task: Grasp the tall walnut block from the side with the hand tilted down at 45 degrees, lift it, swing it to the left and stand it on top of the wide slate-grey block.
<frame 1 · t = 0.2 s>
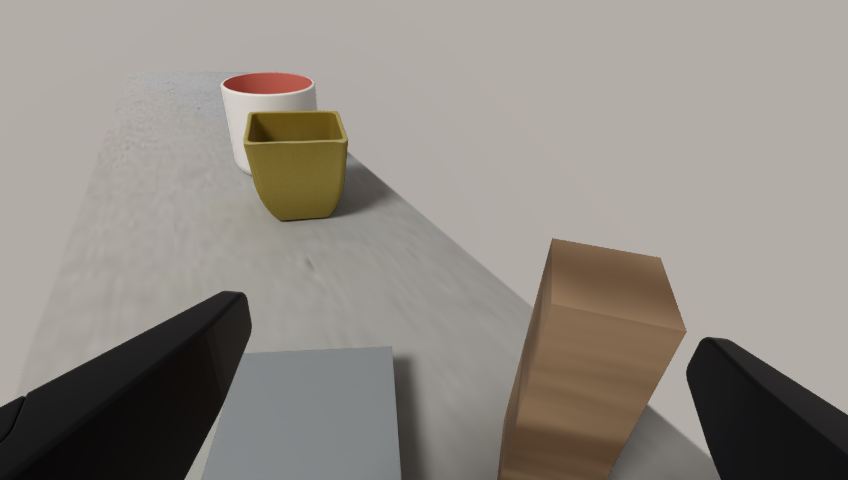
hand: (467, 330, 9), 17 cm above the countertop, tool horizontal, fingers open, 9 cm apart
walnut block: (540, 464, 24), on the countertop
cup: (280, 167, 54), on the countertop
flower pot: (304, 210, 45), on the countertop
grey base block: (314, 448, 24), on the countertop
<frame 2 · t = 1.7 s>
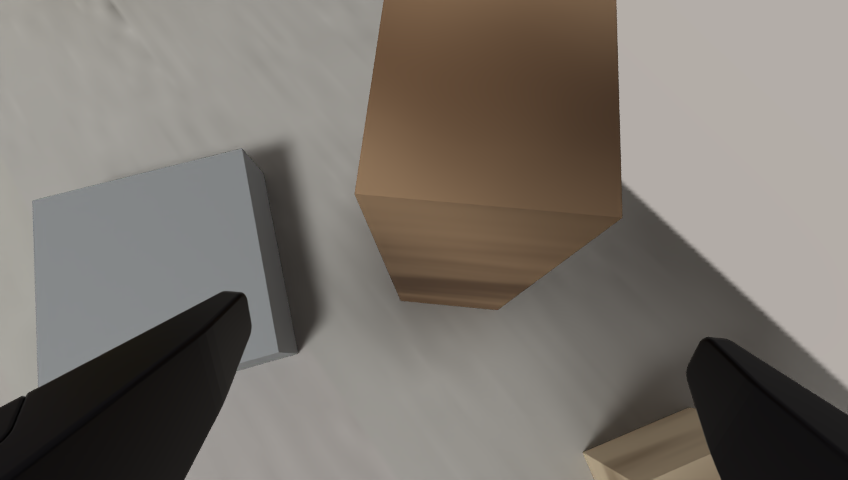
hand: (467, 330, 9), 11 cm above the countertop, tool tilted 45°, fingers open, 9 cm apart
walnut block: (452, 258, 20), on the countertop
grey base block: (188, 285, 20), on the countertop
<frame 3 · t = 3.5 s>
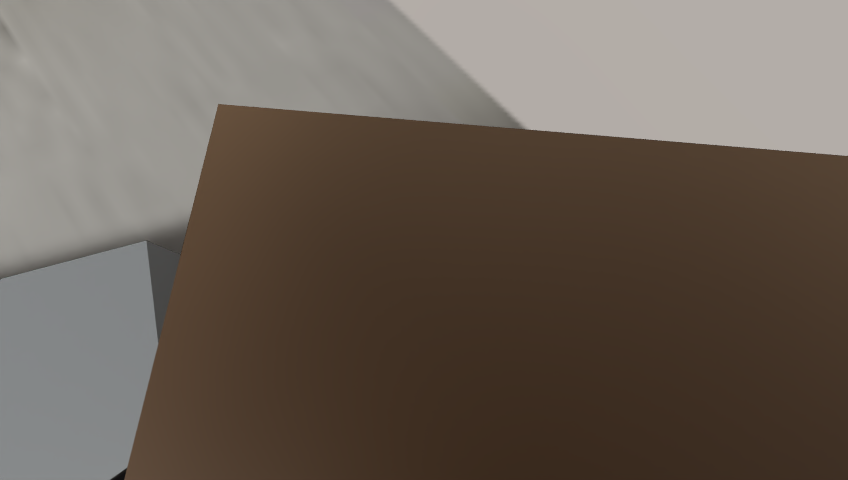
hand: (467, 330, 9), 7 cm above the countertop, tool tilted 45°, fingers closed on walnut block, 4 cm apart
walnut block: (447, 384, 15), on the countertop, touching gripper
grey base block: (83, 420, 15), on the countertop
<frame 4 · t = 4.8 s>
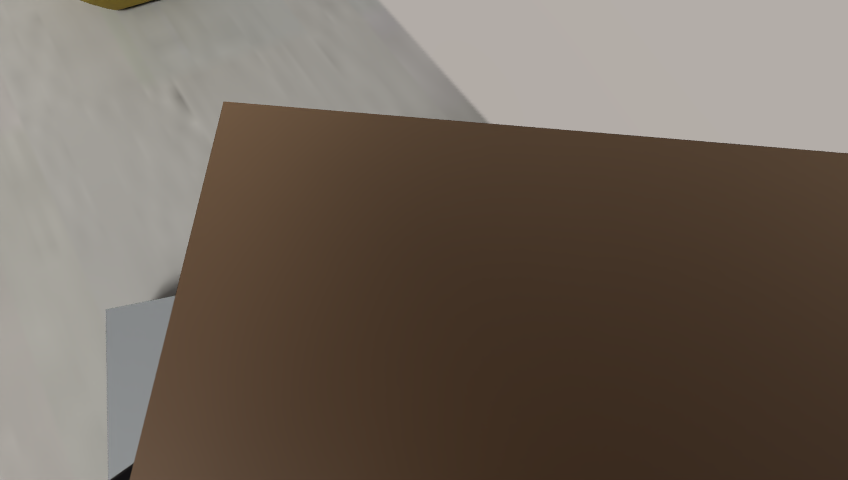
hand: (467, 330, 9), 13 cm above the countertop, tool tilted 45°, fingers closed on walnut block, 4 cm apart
walnut block: (448, 383, 15), point 7 cm above the countertop, touching gripper
grey base block: (241, 386, 22), on the countertop
when the fingers open (10 cm above the countertop, at t = 6.5 s): walnut block drops 1 cm, resting on grey base block.
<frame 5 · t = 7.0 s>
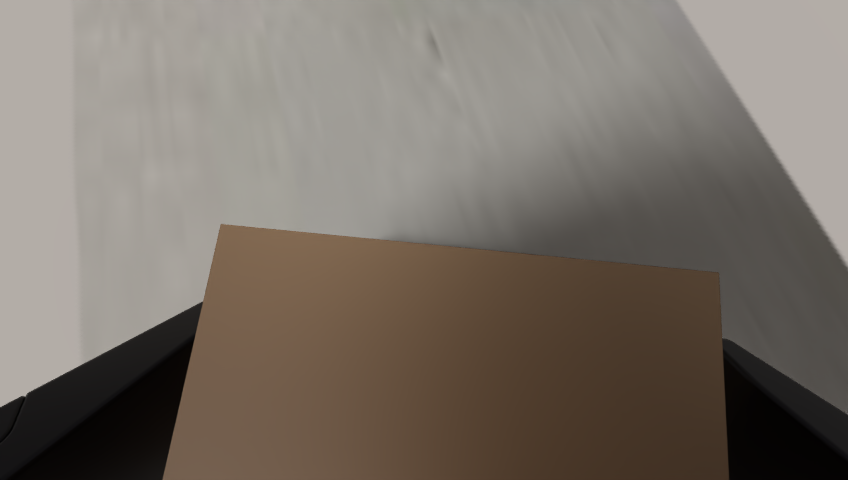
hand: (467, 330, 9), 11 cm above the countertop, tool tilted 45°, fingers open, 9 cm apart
walnut block: (442, 383, 16), point 3 cm above the countertop, touching grey base block
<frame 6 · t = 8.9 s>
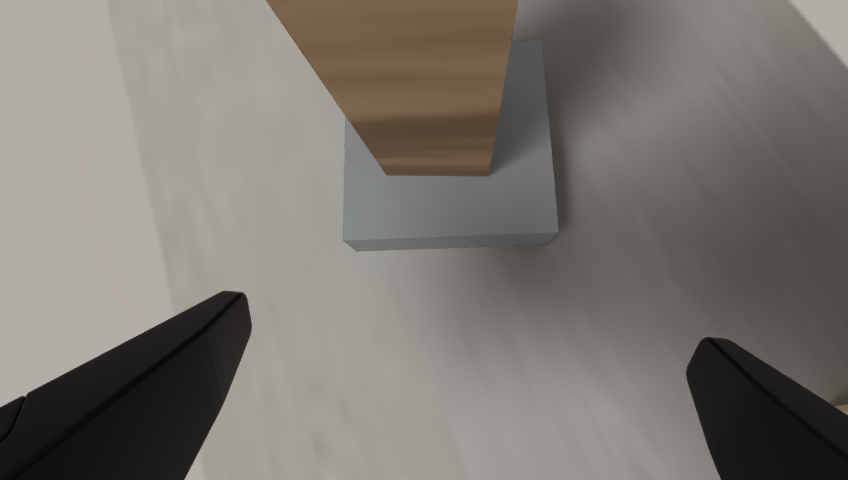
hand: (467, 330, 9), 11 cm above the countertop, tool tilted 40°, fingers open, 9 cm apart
walnut block: (438, 127, 19), point 3 cm above the countertop, tilted 5°, touching grey base block
grey base block: (447, 163, 22), on the countertop, touching walnut block
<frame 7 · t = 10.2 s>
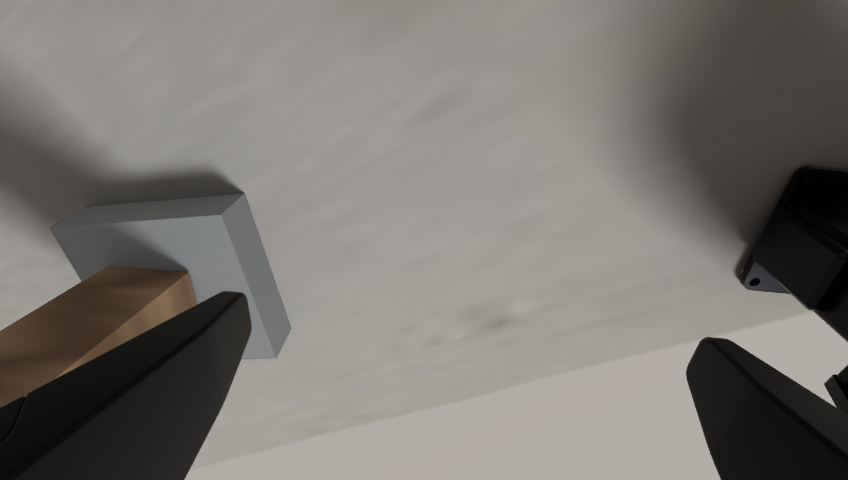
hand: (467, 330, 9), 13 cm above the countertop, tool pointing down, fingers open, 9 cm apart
walnut block: (157, 306, 23), point 3 cm above the countertop, tilted 5°, touching grey base block
grey base block: (200, 266, 25), on the countertop, touching walnut block
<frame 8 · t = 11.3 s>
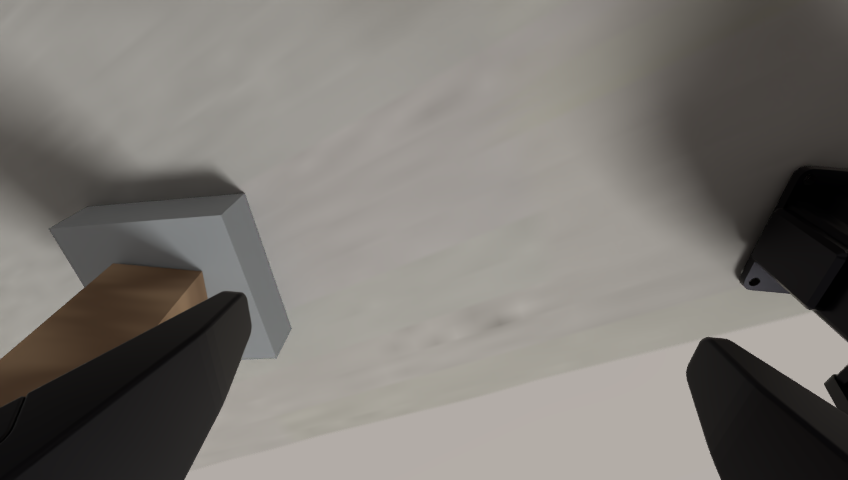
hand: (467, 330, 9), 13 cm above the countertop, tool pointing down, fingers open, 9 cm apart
walnut block: (167, 301, 23), point 3 cm above the countertop, touching grey base block
grey base block: (200, 266, 25), on the countertop, touching walnut block
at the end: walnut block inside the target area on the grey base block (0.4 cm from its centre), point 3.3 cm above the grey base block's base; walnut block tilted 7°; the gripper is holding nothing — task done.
